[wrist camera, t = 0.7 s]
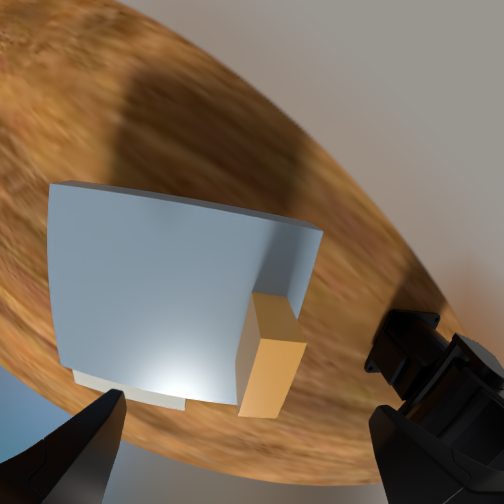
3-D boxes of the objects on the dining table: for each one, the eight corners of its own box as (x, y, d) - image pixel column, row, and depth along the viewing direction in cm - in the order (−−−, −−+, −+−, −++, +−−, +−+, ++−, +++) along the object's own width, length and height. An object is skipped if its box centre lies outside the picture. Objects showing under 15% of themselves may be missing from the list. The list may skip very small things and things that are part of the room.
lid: (310, 222, 14) (359, 258, 8) (262, 384, 16) (274, 455, 11) (70, 180, 12) (-1, 193, 7) (73, 347, 15) (36, 404, 9)
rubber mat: (192, 346, 21) (191, 349, 20) (184, 407, 23) (184, 410, 22) (66, 316, 19) (64, 319, 19) (76, 380, 21) (75, 382, 21)
